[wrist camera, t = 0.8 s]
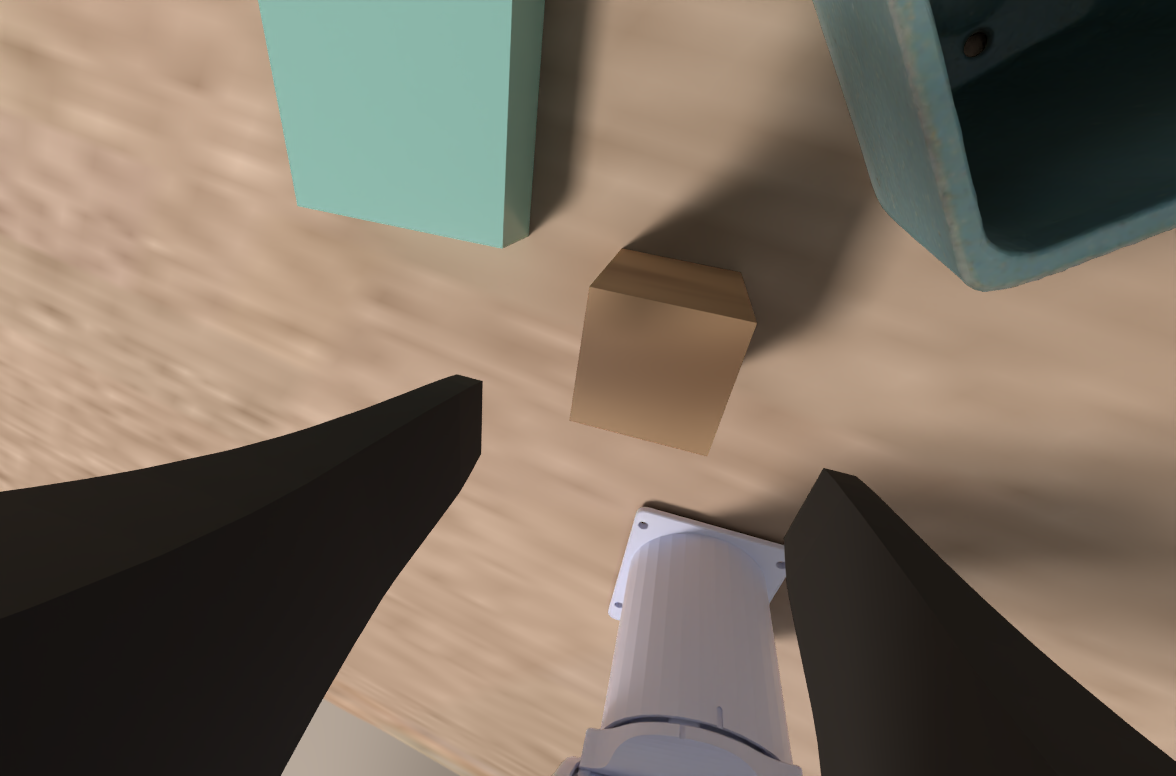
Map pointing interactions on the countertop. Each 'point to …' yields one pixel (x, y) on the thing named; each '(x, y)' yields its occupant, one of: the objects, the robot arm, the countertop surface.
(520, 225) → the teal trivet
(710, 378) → the walnut block
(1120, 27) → the flower pot
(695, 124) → the countertop surface
